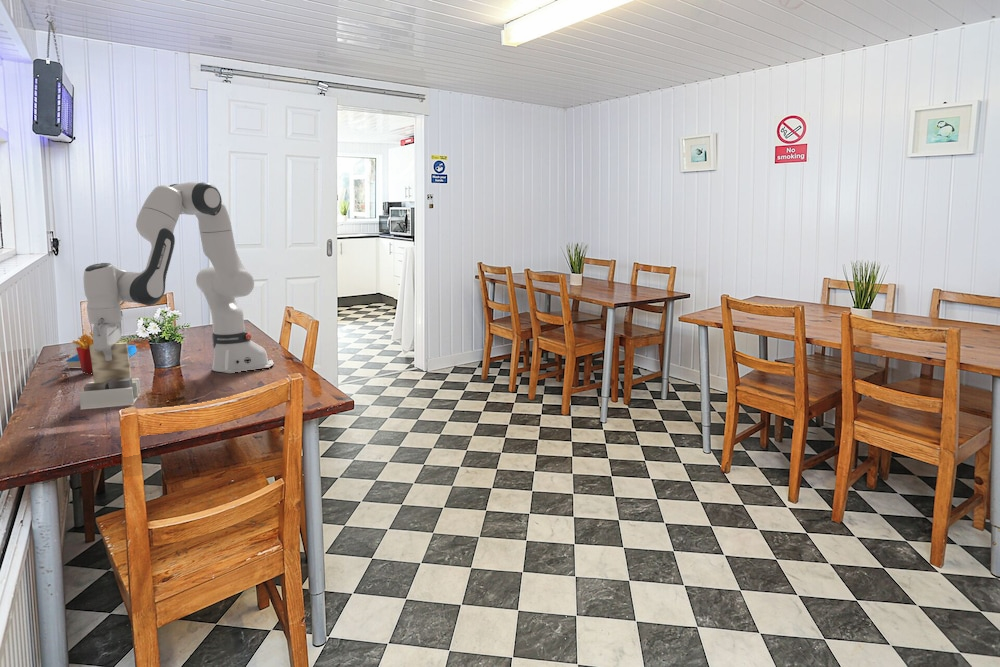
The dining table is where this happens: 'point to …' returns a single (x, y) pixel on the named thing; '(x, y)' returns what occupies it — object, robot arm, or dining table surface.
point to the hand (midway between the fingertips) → (110, 359)
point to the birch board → (111, 363)
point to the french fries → (85, 352)
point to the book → (76, 362)
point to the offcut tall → (120, 383)
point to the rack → (110, 396)
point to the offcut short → (96, 386)
